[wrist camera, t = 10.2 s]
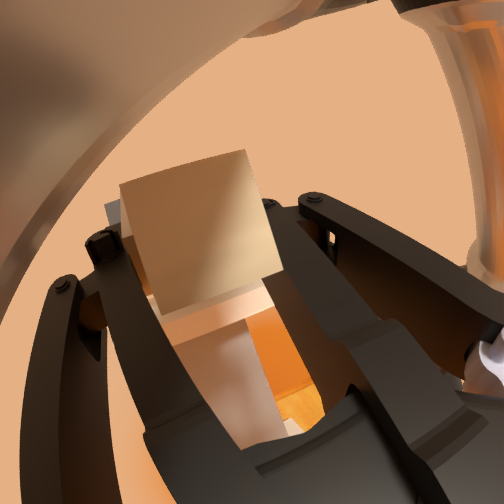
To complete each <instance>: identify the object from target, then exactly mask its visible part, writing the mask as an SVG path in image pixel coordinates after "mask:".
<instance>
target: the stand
mask: <svg viewBox="0 0 504 504" xmlns="http://www.w3.org/2000/svg"><path fill="white" fill-rule="evenodd" d="M148 301H149V303H150V305H151V307H152V309H153V311H154V313H155V315H156V317H157V319H158V321H159V323H160V324H161V326H162V328H163V330H164V332H165V334H166V336H167V338H168V339H169V341H170V343H171V345H172V347H173V348H174V350H175V352H176V354H177V355H178V357H179V359H180V361H181V362H182V364H183V366H184V367H185V369H186V371H187V372H188V374H189V376H190V377H191V379H192V381H193V382H194V384H195V385H196V387H197V389H198V390H199V392H200V393H201V395H202V396H203V398H204V399H205V401H206V402H207V403H208V405H209V406H210V407H211V409H212V410H213V412H214V413H215V415H216V416H217V418H218V419H219V421H220V422H221V423H222V425H223V426H224V428H225V429H226V431H227V432H228V433H229V435H230V436H231V438H232V439H233V440H234V442H235V443H236V444H237V446H238V447H239V448H240V450H243V449H245V448H248V447H250V446H252V445H255V444H257V443H261V442H267V441H271V440H276V439H281V438H285V437H289V436H293V435H297V434H301V433H305V432H304V431H303V430H302V429H301V428H300V427H299V426H298V424H297V423H296V422H295V421H294V420H293V419H292V418H289V419H287V420H285V421H283V420H282V417H281V415H280V412H279V410H278V407H277V404H276V402H275V399H274V397H273V394H272V391H271V389H270V386H269V384H268V381H267V378H266V376H265V373H264V370H263V368H262V365H261V362H260V359H259V357H258V354H257V351H256V349H255V346H254V343H253V340H252V338H251V335H250V332H249V330H248V327H247V324H246V321H245V318H246V317H249V316H251V315H253V314H256V313H258V312H261V311H263V310H265V309H268V308H270V307H272V306H275V305H274V303H273V301H272V299H271V297H270V295H269V293H268V291H267V289H266V287H265V285H264V283H263V281H262V279H259V280H256V281H254V282H251V283H249V284H246V285H243V286H241V287H238V288H235V289H233V290H230V291H228V292H225V293H222V294H220V295H217V296H214V297H212V298H209V299H206V300H204V301H201V302H198V303H196V304H193V305H190V306H187V307H185V308H182V309H179V310H176V311H174V312H171V313H168V314H165V315H163V316H161V313H160V310H159V308H158V305H157V303H156V300H155V298H152V299H149V300H148ZM112 344H113V341H112ZM113 346H114V344H113Z"/></svg>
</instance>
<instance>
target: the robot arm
mask: <svg viewBox="0 0 504 504" xmlns="http://www.w3.org/2000/svg"><path fill="white" fill-rule="evenodd" d="M374 1H377V0H0V324H1V322H2V319H3V317H4V315H5V313H6V310H7V308H8V306H9V304H10V302H11V300H12V298H13V296H14V294H15V292H16V290H17V288H18V286H19V284H20V282H21V280H22V278H23V276H24V274H25V272H26V271H27V269H28V267H29V265H30V263H31V262H32V260H33V258H34V256H35V255H36V253H37V251H38V250H39V248H40V247H41V245H42V243H43V242H44V240H45V238H46V237H47V235H48V234H49V232H50V231H51V229H52V228H53V226H54V225H55V223H56V221H57V220H58V218H59V217H60V216H61V214H62V213H63V212H64V210H65V209H66V207H67V206H68V204H69V203H70V202H71V200H72V199H73V198H74V196H75V195H76V194H77V192H78V191H79V190H80V188H81V187H82V186H83V185H84V183H85V182H86V181H87V180H88V178H89V177H90V176H91V174H92V173H93V172H94V171H95V170H96V168H97V167H98V166H99V165H100V164H101V162H102V161H103V160H104V159H105V158H106V157H107V156H108V154H109V153H110V152H111V151H112V150H113V149H114V148H115V147H116V145H117V144H118V143H119V142H120V141H121V140H122V139H123V138H124V137H125V136H126V135H127V134H128V133H129V132H130V131H131V130H132V128H133V127H134V126H135V125H136V124H137V123H138V122H139V121H140V120H141V119H142V118H143V117H144V116H145V115H147V114H148V113H149V111H151V110H152V109H153V108H154V107H155V106H156V105H157V104H158V103H159V102H160V101H161V100H163V98H165V97H166V96H167V95H168V94H169V93H170V92H171V91H173V90H174V89H175V88H176V87H177V86H178V85H179V84H181V83H182V82H183V81H184V80H185V79H186V78H188V77H189V76H190V75H192V74H193V73H194V72H195V71H197V70H198V69H199V68H200V67H201V66H203V65H204V64H206V63H207V62H208V61H209V60H211V59H212V58H213V57H215V56H216V55H218V54H219V53H220V52H222V51H223V50H225V49H226V48H227V47H229V46H230V45H232V44H233V43H235V42H236V41H238V40H239V39H241V38H252V37H259V36H266V35H270V34H274V33H277V32H280V31H283V30H286V29H288V28H290V27H292V26H294V25H296V24H298V23H300V22H301V21H304V20H308V19H311V18H314V17H318V16H322V15H326V14H330V13H334V12H338V11H342V10H345V9H349V8H353V7H356V6H359V5H362V4H366V3H371V2H374ZM391 1H392V3H393V5H394V7H395V8H396V10H397V11H398V13H399V15H400V17H401V18H403V19H405V20H407V21H409V22H411V23H412V24H414V25H416V26H418V27H420V28H422V29H423V30H424V31H425V32H426V33H427V34H428V36H429V38H430V40H431V42H432V45H433V47H434V49H435V51H436V54H437V56H438V59H439V61H440V63H441V66H442V69H443V71H444V74H445V77H446V79H447V82H448V85H449V88H450V91H451V94H452V97H453V100H454V104H455V107H456V111H457V114H458V117H459V121H460V125H461V129H462V133H463V137H464V142H465V147H466V152H467V156H468V162H469V167H470V173H471V180H472V187H473V195H474V203H475V215H476V229H477V239H476V240H475V241H474V242H473V244H472V245H471V247H470V249H469V251H468V255H467V263H466V265H463V266H457V265H456V264H454V263H453V262H451V261H449V260H448V259H446V258H444V257H443V256H441V255H439V254H438V253H436V252H434V251H433V250H431V249H429V248H428V247H426V246H424V245H422V244H421V243H419V242H417V241H415V240H414V239H412V238H410V237H408V236H407V235H405V234H403V233H401V232H399V231H397V230H396V229H394V228H392V227H390V226H388V225H386V224H384V223H382V222H381V221H379V220H377V219H375V218H373V217H371V216H369V215H367V214H365V213H363V212H361V211H359V210H357V209H355V208H353V207H351V206H349V205H347V204H345V203H343V202H341V201H339V200H337V199H334V198H332V197H330V196H328V195H326V194H323V193H317V192H308V193H305V194H302V195H301V196H300V197H299V198H298V206H291V207H282V206H281V205H280V204H279V203H278V202H277V201H276V200H273V199H261V200H262V203H263V206H264V209H265V212H266V215H267V218H268V222H269V225H270V228H271V231H272V234H273V237H274V241H275V244H276V247H277V250H278V253H279V257H280V260H281V263H282V267H283V270H282V271H279V272H277V273H274V274H272V275H269V276H267V277H264V278H261V279H262V281H263V283H264V285H265V287H266V289H267V291H268V293H269V295H270V297H271V299H272V301H273V303H274V305H275V307H276V309H277V311H278V313H279V315H280V317H281V319H282V320H283V323H284V325H285V327H286V329H287V331H288V333H289V335H290V336H291V339H292V341H293V343H294V344H295V346H296V348H297V350H298V352H299V354H300V356H301V358H302V360H303V362H304V364H305V366H306V368H307V370H308V372H309V374H310V376H311V378H312V380H313V382H314V384H315V386H316V388H317V390H318V392H319V394H320V396H321V399H322V404H323V409H324V412H325V416H324V417H323V418H322V419H321V420H320V421H319V422H318V423H317V424H315V425H314V426H313V427H312V428H311V429H310V430H308V431H307V432H305V433H301V434H297V435H293V436H289V437H285V438H281V439H276V440H271V441H267V442H261V443H257V444H255V445H252V446H250V447H248V448H245V449H243V450H240V448H239V447H238V446H237V444H236V443H235V442H234V440H233V439H232V438H231V436H230V435H229V433H228V432H227V431H226V429H225V428H224V426H223V425H222V423H221V422H220V421H219V419H218V418H217V416H216V415H215V413H214V412H213V410H212V409H211V407H210V406H209V405H208V403H207V402H206V401H205V399H204V398H203V396H202V395H201V393H200V392H199V390H198V389H197V387H196V385H195V384H194V382H193V381H192V379H191V377H190V376H189V374H188V372H187V371H186V369H185V367H184V366H183V364H182V362H181V361H180V359H179V357H178V355H177V354H176V352H175V350H174V348H173V347H172V345H171V343H170V341H169V339H168V338H167V336H166V334H165V332H164V330H163V328H162V326H161V324H160V323H159V321H158V319H157V317H156V315H155V313H154V311H153V309H152V307H151V305H150V303H149V301H148V299H147V297H146V296H148V295H151V294H153V292H152V289H151V287H150V284H149V281H148V278H147V276H146V273H145V270H144V267H143V264H142V261H141V258H140V255H139V252H138V249H137V246H136V243H135V239H134V236H133V233H132V230H131V226H130V223H129V220H128V216H127V213H126V209H125V205H124V202H123V198H122V194H121V190H120V209H121V222H119V223H117V224H114V225H111V226H109V227H106V228H105V229H104V230H101V231H99V232H97V233H95V234H93V235H92V236H91V237H89V238H88V239H87V241H86V242H85V247H86V249H87V252H88V254H89V256H90V258H91V260H92V262H93V265H94V269H95V270H94V271H93V272H92V273H91V274H89V275H88V276H86V277H85V278H83V279H82V280H80V281H79V280H78V279H77V277H76V276H75V275H73V274H69V275H65V276H63V277H60V278H58V279H56V281H54V283H53V284H52V285H51V286H50V288H49V290H48V293H47V296H46V299H45V302H44V305H43V309H42V312H41V316H40V319H39V323H38V327H37V331H36V335H35V339H34V343H33V347H32V352H31V356H30V362H29V367H28V372H27V378H26V385H25V391H24V398H23V408H22V418H21V429H20V489H21V499H22V500H21V501H22V504H122V499H121V494H120V490H119V485H118V479H117V473H116V468H115V461H114V454H113V447H112V438H111V429H110V418H109V404H108V384H107V328H106V327H107V326H108V328H109V331H110V334H111V338H112V341H113V344H114V348H115V350H116V354H117V356H118V360H119V362H120V366H121V369H122V371H123V374H124V377H125V379H126V382H127V385H128V388H129V390H130V392H131V395H132V398H133V400H134V403H135V405H136V408H137V410H138V412H139V415H140V417H141V419H142V421H143V424H144V426H145V432H144V433H143V439H144V442H145V445H146V447H147V450H148V452H149V454H150V456H151V458H152V460H153V462H154V464H155V466H156V468H157V470H158V471H159V473H160V475H161V477H162V479H163V481H164V483H165V484H166V486H167V488H168V490H169V491H170V493H171V495H172V496H173V498H174V500H175V501H176V503H177V504H504V0H391ZM330 232H332V233H333V234H334V235H335V243H332V242H330V241H329V240H330V238H329V237H330ZM461 379H462V380H464V383H463V386H462V382H461ZM462 389H463V391H462ZM477 393H478V394H477Z"/></svg>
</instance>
